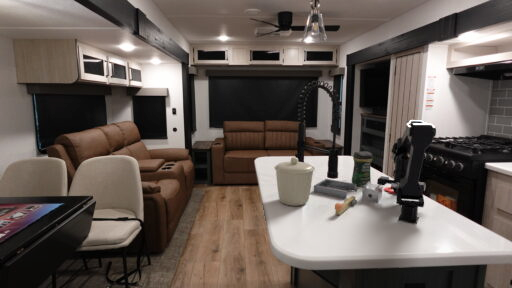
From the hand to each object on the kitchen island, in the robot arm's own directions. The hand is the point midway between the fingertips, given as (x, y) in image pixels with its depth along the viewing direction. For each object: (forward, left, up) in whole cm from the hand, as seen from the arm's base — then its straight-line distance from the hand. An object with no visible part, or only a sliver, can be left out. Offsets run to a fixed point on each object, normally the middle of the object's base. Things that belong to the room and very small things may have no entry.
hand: (399, 201), depth 129 cm
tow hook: (+18, +6, -1) cm, 19 cm away
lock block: (0, +12, -1) cm, 12 cm away
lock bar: (-19, +18, -1) cm, 26 cm away
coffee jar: (+20, +23, -1) cm, 30 cm away
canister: (-26, +40, -1) cm, 48 cm away
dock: (-4, +27, -1) cm, 27 cm away
